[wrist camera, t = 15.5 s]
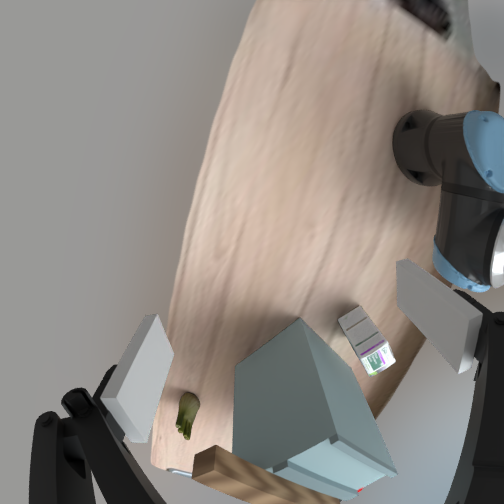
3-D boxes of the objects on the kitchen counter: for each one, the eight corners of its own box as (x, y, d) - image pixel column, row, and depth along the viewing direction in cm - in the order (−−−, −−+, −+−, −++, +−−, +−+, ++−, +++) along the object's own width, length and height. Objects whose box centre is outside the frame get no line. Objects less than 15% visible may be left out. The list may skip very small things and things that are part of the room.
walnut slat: (194, 454, 31) (191, 478, 27) (216, 444, 30) (214, 470, 27) (320, 506, 38) (323, 523, 34) (338, 498, 37) (342, 515, 33)
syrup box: (336, 318, 60) (358, 360, 46) (360, 304, 59) (388, 342, 45) (347, 337, 61) (369, 379, 47) (370, 322, 60) (397, 362, 46)
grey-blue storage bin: (299, 317, 59) (339, 440, 29) (351, 368, 64) (397, 474, 34) (235, 365, 62) (231, 489, 33) (291, 408, 67) (310, 515, 37)
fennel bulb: (180, 388, 64) (172, 424, 53) (201, 391, 65) (195, 428, 53) (180, 404, 66) (172, 439, 55) (200, 407, 66) (194, 443, 55)
